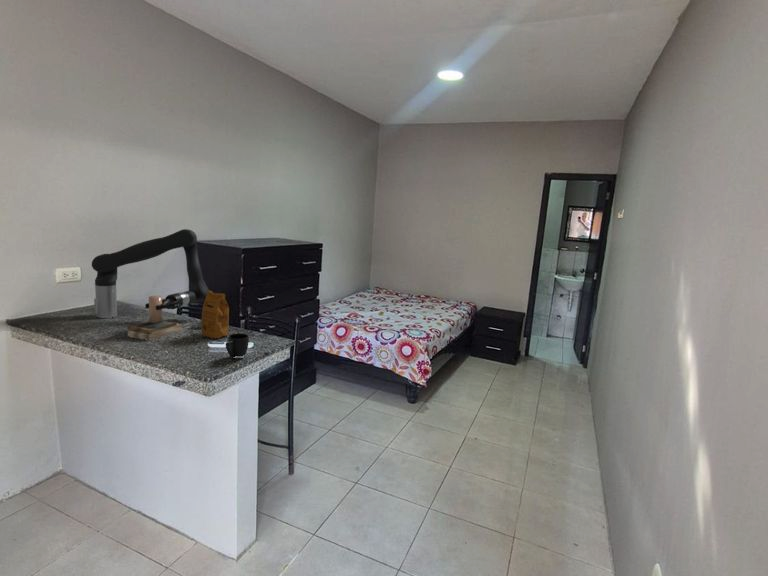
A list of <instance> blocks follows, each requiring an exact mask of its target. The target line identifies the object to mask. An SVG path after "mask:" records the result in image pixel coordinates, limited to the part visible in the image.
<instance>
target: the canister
mask: <svg viewBox="0 0 768 576" xmlns="http://www.w3.org/2000/svg"><path fill="white" fill-rule="evenodd" d="M162 299H163V296H161V295H150V296H148V303H149V308H148V312H149V313H148V318H149V319H148V320H149V321H148V322H151V323H158V322H162V321H163V309H160V310H156V305H160V304H162Z"/></svg>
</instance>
